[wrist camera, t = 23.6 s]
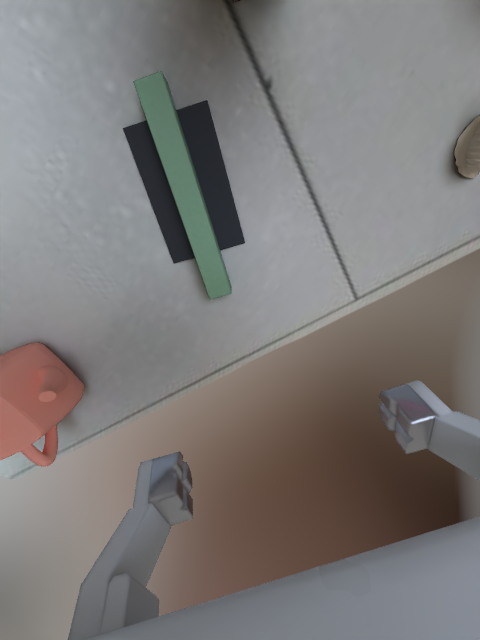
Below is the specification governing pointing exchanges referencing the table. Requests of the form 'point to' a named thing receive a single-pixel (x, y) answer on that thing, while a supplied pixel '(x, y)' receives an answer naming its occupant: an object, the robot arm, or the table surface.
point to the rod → (183, 180)
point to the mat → (208, 173)
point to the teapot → (34, 401)
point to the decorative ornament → (469, 150)
